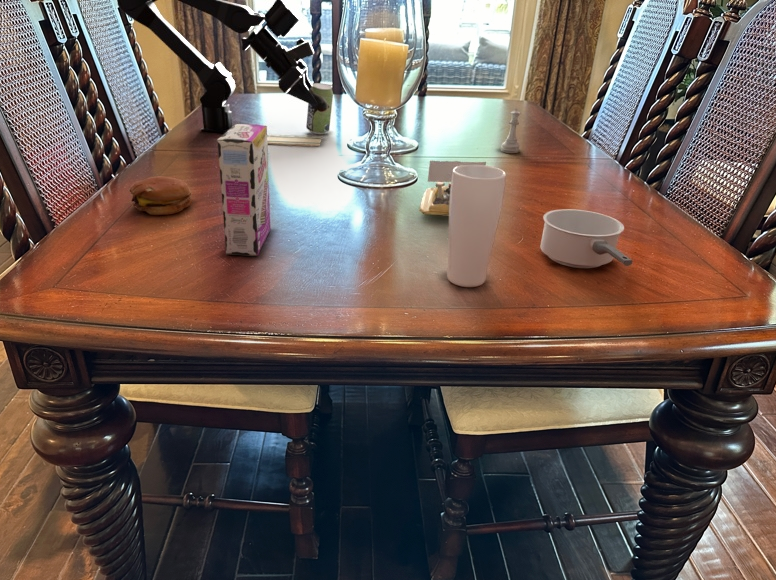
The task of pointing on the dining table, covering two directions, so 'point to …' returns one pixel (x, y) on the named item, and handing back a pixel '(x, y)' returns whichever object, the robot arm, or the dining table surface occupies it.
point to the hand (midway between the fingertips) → (316, 101)
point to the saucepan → (582, 238)
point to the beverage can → (320, 109)
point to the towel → (293, 140)
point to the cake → (440, 187)
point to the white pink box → (244, 188)
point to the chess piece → (512, 135)
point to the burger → (161, 195)
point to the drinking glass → (473, 221)
